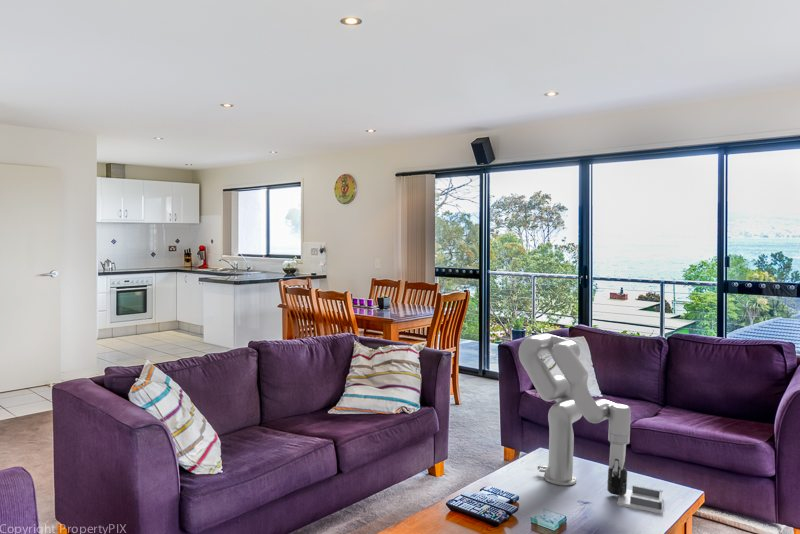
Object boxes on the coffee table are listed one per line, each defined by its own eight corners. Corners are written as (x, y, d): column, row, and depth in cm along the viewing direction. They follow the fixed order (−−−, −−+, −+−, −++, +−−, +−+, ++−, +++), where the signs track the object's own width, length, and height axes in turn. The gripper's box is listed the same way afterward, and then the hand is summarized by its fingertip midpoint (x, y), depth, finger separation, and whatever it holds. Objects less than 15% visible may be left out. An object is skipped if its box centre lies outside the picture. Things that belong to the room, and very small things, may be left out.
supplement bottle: (627, 497, 215) (629, 465, 215) (608, 494, 216) (610, 463, 216) (624, 489, 222) (626, 458, 221) (605, 487, 223) (607, 456, 223)
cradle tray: (617, 504, 212) (617, 495, 212) (620, 490, 225) (621, 481, 225) (662, 514, 206) (662, 504, 206) (663, 498, 219) (663, 489, 218)
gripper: (610, 429, 228) (608, 474, 228) (605, 442, 212) (603, 490, 213) (631, 432, 224) (629, 477, 225) (627, 446, 209) (625, 494, 210)
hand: (616, 483), depth 219 cm, fingers closed on supplement bottle, 6 cm apart
